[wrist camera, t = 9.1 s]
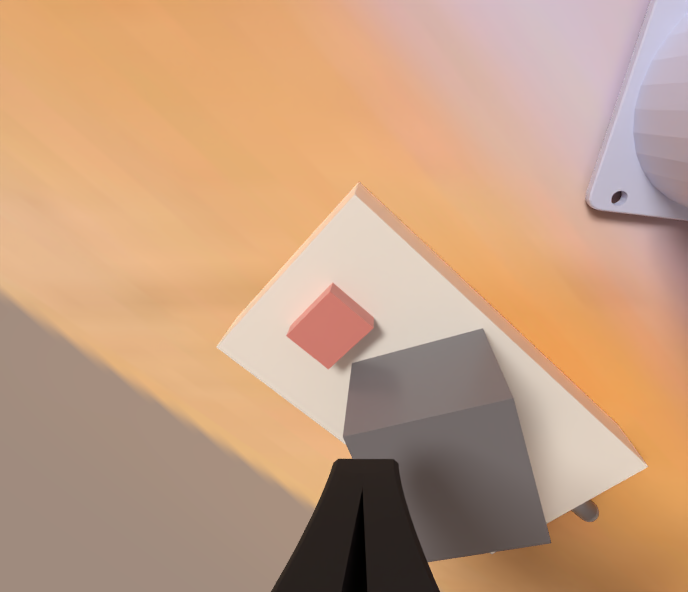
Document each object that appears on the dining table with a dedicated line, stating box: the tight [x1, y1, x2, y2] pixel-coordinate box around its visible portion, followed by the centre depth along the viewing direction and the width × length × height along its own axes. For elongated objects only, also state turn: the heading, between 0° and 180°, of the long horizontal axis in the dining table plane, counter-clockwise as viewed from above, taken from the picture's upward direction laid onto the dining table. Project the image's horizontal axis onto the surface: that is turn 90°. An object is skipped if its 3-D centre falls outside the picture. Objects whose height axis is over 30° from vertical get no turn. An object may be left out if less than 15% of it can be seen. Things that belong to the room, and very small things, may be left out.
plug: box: [343, 328, 551, 562], centre depth 16 cm, size 5×6×6 cm
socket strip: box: [217, 182, 648, 554], centre depth 18 cm, size 20×8×3 cm, turn 48°
